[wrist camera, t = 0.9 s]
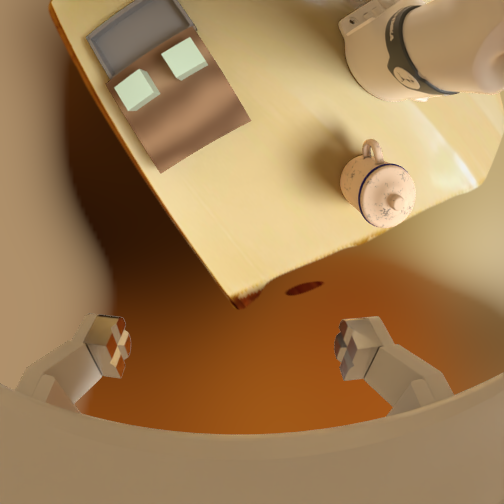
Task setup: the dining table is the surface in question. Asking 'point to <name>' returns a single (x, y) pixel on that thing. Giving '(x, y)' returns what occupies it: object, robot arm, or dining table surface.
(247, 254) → the dining table surface
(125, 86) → the mint block
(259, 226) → the dining table surface
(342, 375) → the robot arm
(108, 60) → the charcoal tray
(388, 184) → the teacup with lid
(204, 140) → the walnut bench
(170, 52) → the mint block
